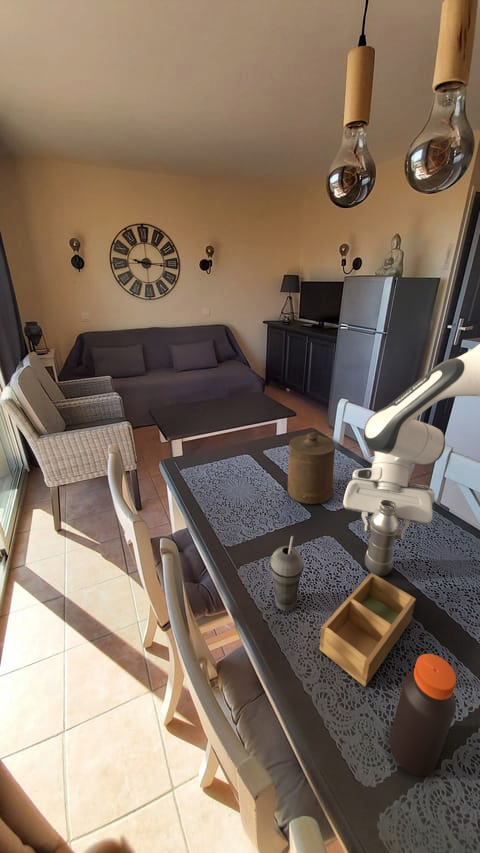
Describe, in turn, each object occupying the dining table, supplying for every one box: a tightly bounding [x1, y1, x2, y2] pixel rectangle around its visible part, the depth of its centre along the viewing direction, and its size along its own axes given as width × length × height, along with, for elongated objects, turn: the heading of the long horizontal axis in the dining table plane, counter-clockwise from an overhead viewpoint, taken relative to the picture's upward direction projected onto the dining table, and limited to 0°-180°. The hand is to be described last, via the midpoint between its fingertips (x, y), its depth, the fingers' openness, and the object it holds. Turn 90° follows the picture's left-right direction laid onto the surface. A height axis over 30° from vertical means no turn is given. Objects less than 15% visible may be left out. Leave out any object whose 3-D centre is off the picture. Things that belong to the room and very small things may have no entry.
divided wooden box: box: [319, 572, 417, 688], centre depth 74 cm, size 10×19×7 cm, turn 133°
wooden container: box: [287, 431, 336, 505], centre depth 119 cm, size 15×15×22 cm
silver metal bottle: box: [364, 500, 401, 577], centre depth 87 cm, size 6×7×20 cm
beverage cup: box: [269, 535, 305, 612], centre depth 79 cm, size 7×7×20 cm
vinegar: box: [389, 653, 457, 778], centre depth 53 cm, size 7×7×20 cm
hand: (382, 535), depth 86 cm, fingers closed on silver metal bottle, 6 cm apart
